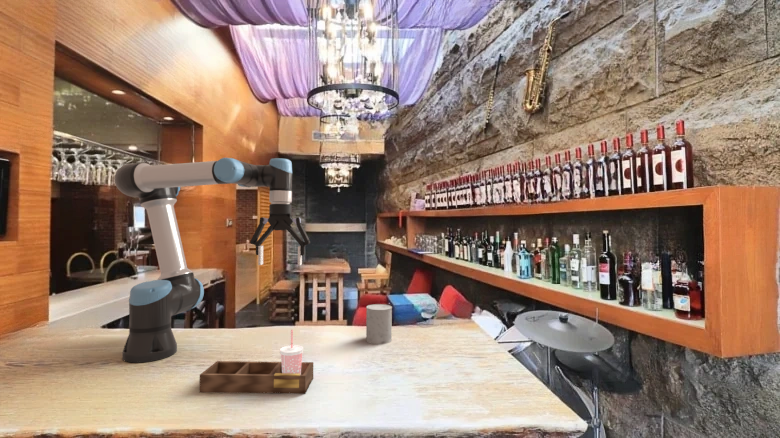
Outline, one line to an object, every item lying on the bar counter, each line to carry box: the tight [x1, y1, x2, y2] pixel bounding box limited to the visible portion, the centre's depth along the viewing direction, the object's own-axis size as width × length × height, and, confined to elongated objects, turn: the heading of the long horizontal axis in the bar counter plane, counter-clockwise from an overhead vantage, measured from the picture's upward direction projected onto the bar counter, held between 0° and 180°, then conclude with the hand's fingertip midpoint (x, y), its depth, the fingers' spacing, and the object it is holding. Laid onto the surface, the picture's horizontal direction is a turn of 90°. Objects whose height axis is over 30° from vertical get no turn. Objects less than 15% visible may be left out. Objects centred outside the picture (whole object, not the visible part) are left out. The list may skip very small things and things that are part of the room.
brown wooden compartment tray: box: [199, 360, 314, 395], centre depth 103 cm, size 27×10×5 cm, turn 89°
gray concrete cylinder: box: [365, 303, 393, 345], centre depth 143 cm, size 10×10×12 cm
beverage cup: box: [279, 329, 304, 375], centre depth 103 cm, size 6×6×14 cm
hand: (280, 264), depth 133 cm, fingers open, 13 cm apart
